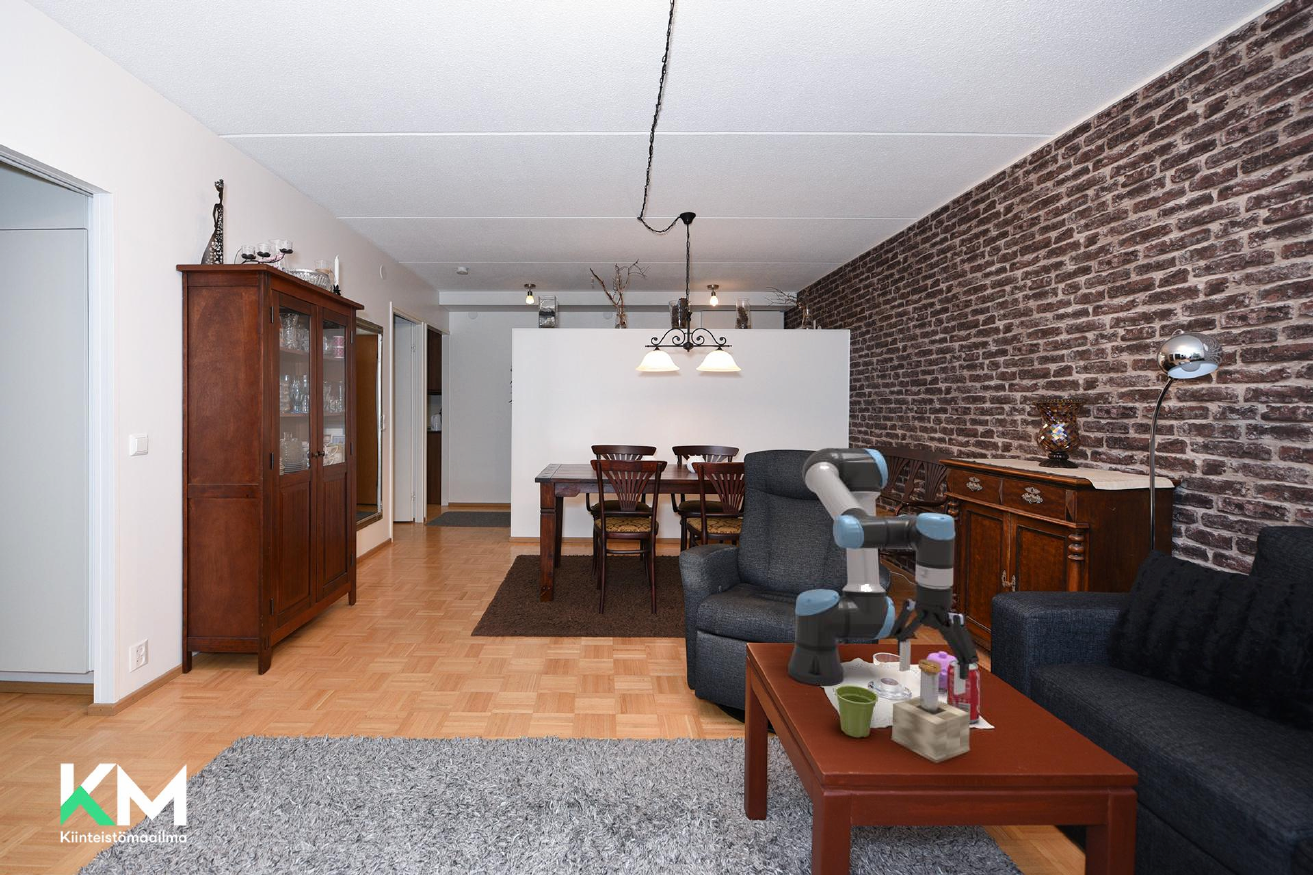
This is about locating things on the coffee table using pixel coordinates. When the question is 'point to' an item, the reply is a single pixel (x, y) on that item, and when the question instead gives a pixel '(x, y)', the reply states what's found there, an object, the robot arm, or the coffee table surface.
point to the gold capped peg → (929, 685)
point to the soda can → (972, 691)
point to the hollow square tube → (931, 729)
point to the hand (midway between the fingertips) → (930, 681)
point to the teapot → (942, 666)
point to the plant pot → (856, 709)
